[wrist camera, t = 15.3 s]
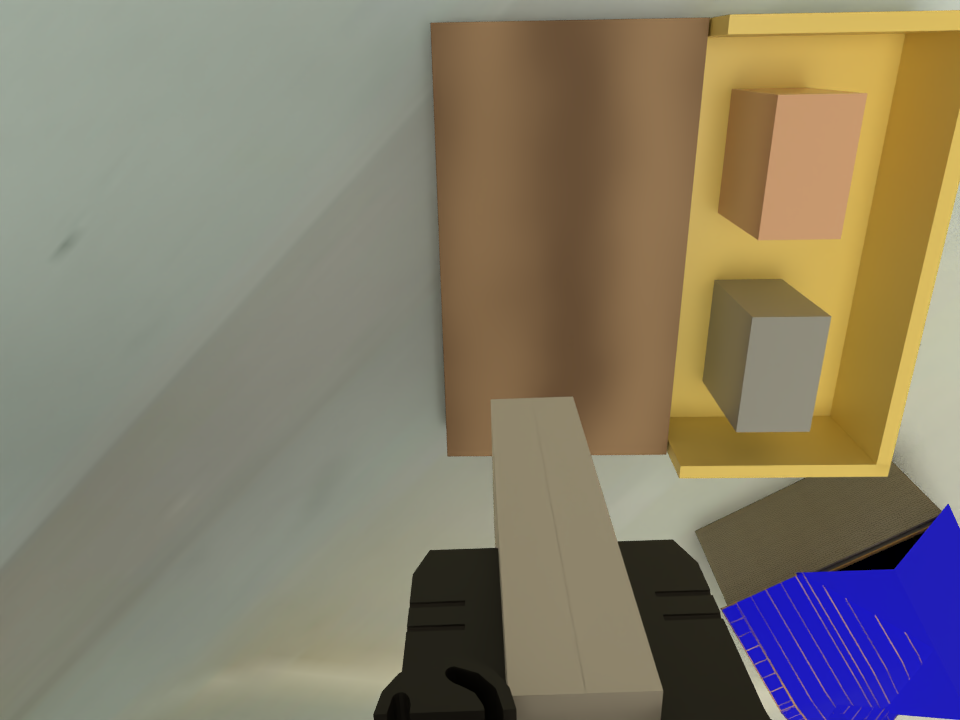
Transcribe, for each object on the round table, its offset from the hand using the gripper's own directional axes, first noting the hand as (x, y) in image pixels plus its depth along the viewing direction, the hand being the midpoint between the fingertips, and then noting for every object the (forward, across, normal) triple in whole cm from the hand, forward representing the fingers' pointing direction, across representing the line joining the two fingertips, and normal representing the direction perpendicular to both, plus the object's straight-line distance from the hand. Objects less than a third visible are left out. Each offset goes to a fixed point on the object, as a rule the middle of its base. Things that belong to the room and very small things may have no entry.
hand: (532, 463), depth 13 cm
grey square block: (+17, +10, -5) cm, 20 cm away
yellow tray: (+20, +12, -1) cm, 23 cm away
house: (+20, +17, -18) cm, 32 cm away
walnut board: (+20, +3, -1) cm, 20 cm away
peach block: (+17, +10, +3) cm, 19 cm away
